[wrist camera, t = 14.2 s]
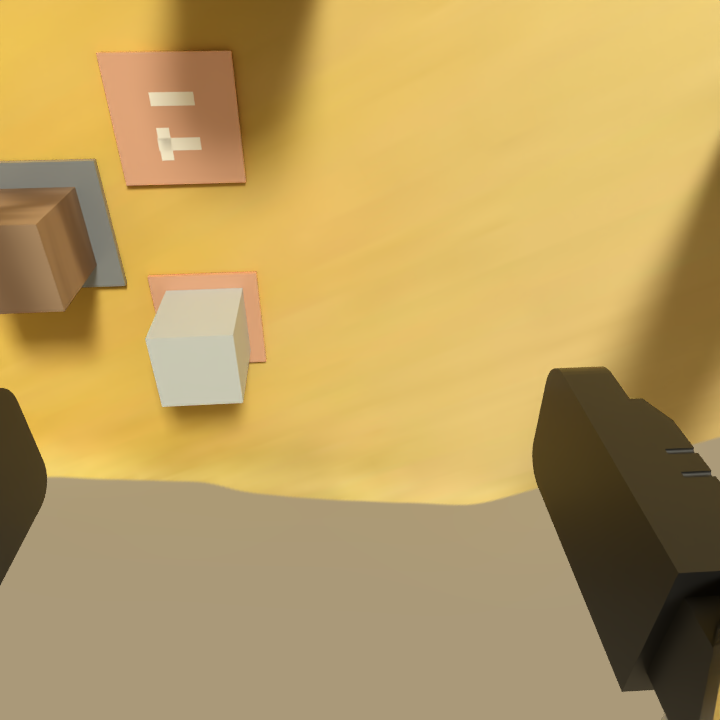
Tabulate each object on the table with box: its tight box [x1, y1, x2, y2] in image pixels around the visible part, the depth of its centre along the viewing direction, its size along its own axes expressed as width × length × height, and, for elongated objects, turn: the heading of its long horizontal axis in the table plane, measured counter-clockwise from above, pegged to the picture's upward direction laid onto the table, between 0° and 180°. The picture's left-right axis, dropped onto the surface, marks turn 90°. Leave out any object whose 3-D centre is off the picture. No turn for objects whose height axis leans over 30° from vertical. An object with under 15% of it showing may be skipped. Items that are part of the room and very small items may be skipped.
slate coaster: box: [0, 159, 127, 287], centre depth 36 cm, size 8×8×1 cm
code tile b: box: [148, 272, 266, 362], centre depth 40 cm, size 7×7×1 cm
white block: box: [145, 288, 251, 407], centre depth 38 cm, size 5×5×6 cm
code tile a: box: [96, 50, 246, 186], centre depth 33 cm, size 7×7×1 cm
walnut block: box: [0, 187, 97, 314], centre depth 33 cm, size 5×5×6 cm
